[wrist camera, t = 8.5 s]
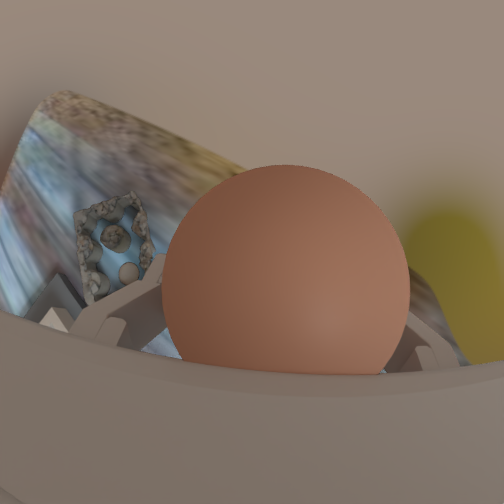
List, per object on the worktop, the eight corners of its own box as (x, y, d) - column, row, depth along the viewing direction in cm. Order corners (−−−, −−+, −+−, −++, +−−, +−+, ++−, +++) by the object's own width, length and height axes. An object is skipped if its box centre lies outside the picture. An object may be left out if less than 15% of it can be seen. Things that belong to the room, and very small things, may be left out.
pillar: (263, 372, 14) (297, 459, 5) (193, 307, 15) (112, 287, 5) (327, 302, 15) (444, 276, 6) (259, 239, 16) (283, 126, 6)
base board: (97, 455, 22) (80, 469, 18) (13, 344, 24) (-9, 344, 20) (164, 395, 24) (150, 407, 20) (65, 274, 26) (43, 268, 22)
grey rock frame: (172, 301, 26) (160, 299, 22) (104, 319, 26) (83, 319, 22) (149, 198, 28) (136, 181, 24) (87, 220, 28) (68, 207, 24)
